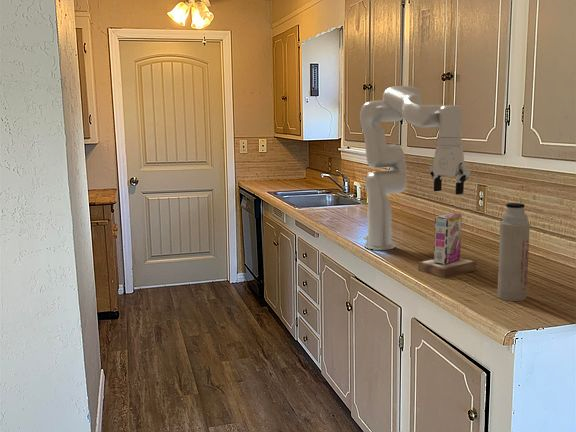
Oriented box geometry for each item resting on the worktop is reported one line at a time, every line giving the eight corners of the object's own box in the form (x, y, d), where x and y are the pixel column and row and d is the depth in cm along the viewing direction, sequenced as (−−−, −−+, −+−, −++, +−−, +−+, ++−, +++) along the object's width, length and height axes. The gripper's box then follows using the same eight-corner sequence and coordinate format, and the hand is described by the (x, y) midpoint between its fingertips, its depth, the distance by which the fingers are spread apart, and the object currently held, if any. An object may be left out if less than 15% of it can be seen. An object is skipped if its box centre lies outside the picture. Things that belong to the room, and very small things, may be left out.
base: (418, 270, 201) (418, 261, 200) (449, 263, 209) (449, 255, 209) (444, 277, 191) (444, 268, 190) (476, 270, 200) (476, 261, 199)
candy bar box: (446, 265, 194) (447, 218, 191) (433, 263, 197) (434, 216, 195) (461, 259, 202) (462, 213, 200) (448, 257, 206) (449, 212, 203)
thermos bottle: (531, 297, 169) (536, 203, 164) (516, 302, 164) (520, 206, 159) (507, 291, 175) (511, 200, 170) (491, 296, 170) (495, 203, 166)
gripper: (423, 142, 198) (421, 190, 201) (462, 143, 184) (460, 196, 187) (438, 141, 202) (436, 189, 205) (478, 142, 188) (476, 194, 191)
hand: (448, 192), depth 196 cm, fingers open, 9 cm apart
